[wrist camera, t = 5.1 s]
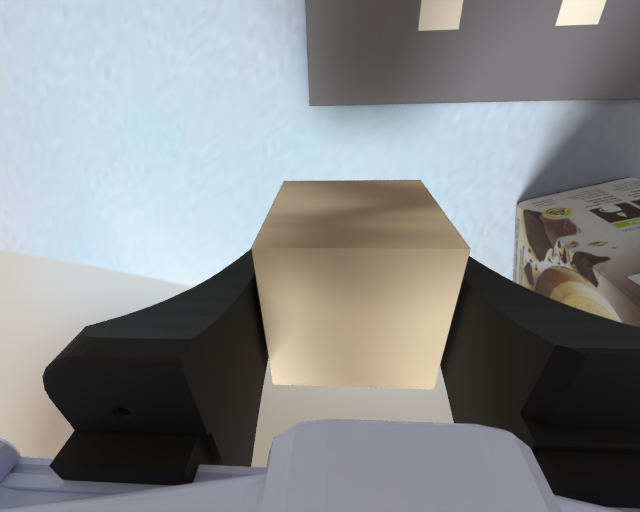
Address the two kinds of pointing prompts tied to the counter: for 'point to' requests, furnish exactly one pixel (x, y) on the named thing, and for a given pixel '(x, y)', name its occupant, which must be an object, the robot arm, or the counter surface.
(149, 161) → the counter surface
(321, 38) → the letter mat
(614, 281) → the coffee box
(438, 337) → the oak block
